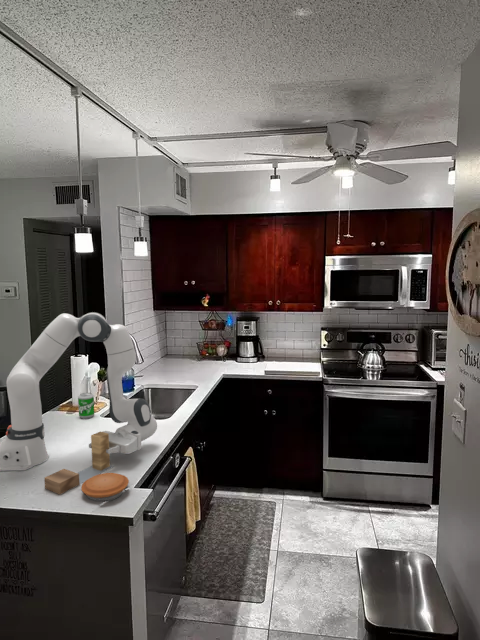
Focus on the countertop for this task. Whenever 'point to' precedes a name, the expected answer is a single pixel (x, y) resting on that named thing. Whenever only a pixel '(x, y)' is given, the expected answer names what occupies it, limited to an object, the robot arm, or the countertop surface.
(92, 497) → the pie
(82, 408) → the soda can
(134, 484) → the countertop surface
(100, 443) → the oak post
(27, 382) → the robot arm
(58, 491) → the walnut plinth
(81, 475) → the slate board
